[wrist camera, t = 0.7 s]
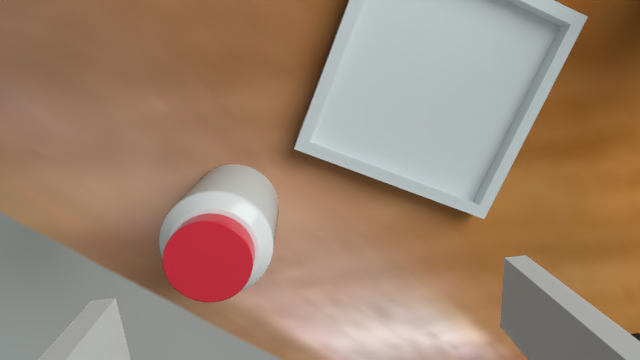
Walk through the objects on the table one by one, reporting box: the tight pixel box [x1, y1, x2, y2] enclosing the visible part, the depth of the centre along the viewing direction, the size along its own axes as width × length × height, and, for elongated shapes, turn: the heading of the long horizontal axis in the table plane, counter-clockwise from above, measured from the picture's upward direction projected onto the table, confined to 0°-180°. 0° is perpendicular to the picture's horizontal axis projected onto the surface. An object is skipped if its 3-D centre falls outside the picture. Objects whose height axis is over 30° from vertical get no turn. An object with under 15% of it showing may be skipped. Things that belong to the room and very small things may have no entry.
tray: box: [294, 0, 588, 219], centre depth 31 cm, size 18×18×2 cm
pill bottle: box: [159, 164, 279, 302], centre depth 28 cm, size 8×8×11 cm
